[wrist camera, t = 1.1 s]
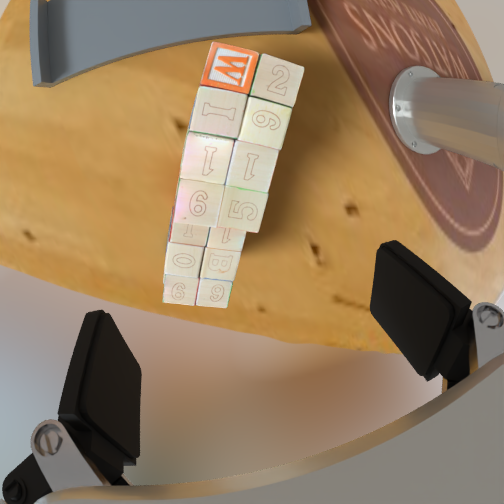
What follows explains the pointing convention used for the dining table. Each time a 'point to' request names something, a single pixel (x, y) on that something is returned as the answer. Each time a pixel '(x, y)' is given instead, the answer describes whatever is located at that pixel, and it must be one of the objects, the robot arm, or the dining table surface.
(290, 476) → the robot arm
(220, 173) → the stack of blocks
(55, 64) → the board
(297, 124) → the dining table surface
